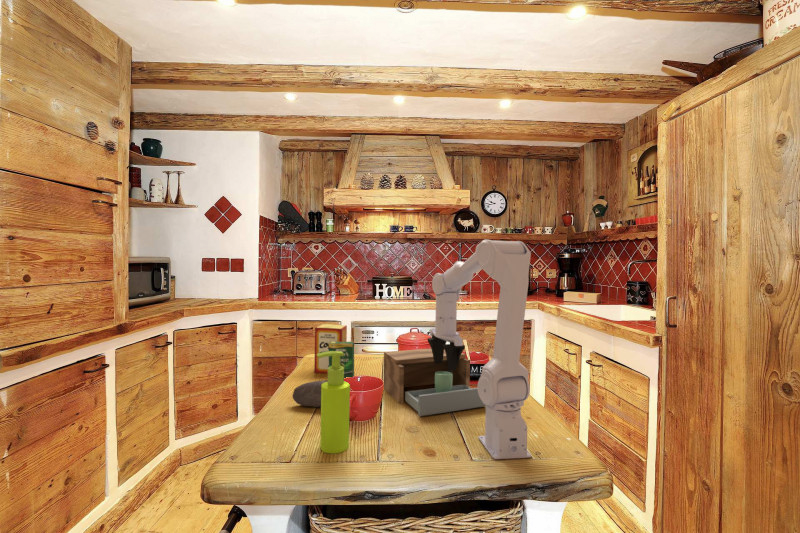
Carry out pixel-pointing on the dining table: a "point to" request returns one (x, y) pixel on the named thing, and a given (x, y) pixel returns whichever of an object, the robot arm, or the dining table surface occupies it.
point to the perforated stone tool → (309, 394)
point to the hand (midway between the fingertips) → (444, 366)
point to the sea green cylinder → (443, 381)
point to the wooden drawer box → (418, 370)
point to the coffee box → (348, 357)
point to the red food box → (327, 343)
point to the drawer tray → (443, 400)
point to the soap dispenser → (334, 407)
